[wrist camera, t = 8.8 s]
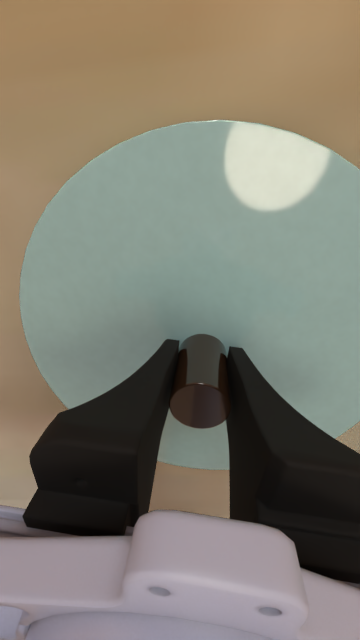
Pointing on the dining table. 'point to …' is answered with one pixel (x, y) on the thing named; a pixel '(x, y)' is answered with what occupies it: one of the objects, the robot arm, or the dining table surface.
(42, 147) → the dining table surface
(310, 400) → the lid
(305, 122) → the dining table surface
